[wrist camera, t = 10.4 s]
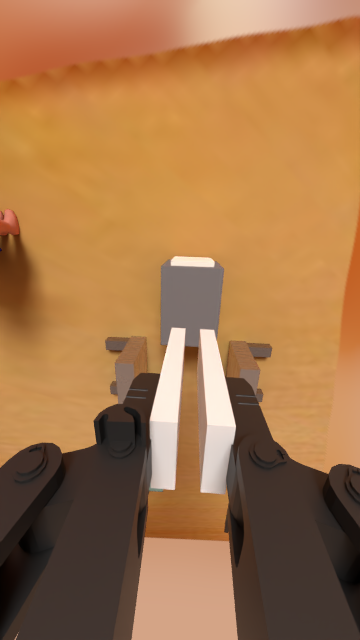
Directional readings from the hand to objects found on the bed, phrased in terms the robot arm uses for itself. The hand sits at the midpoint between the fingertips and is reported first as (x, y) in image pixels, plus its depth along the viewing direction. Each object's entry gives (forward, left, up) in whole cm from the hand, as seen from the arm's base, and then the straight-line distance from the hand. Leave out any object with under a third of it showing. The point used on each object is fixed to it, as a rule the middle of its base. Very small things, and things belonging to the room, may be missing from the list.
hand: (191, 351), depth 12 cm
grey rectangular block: (0, 0, -13) cm, 13 cm away
